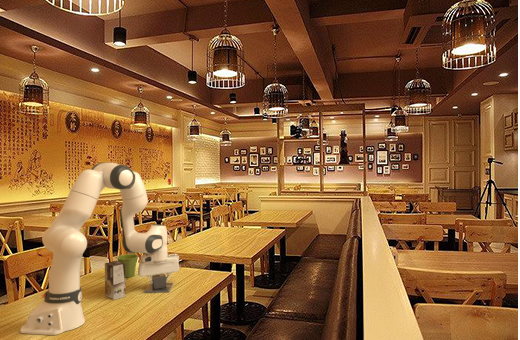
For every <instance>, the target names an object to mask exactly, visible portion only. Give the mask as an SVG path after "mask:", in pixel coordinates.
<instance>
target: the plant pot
mask: <svg viewBox="0 0 520 340" xmlns="http://www.w3.org/2000/svg"><path fill="white" fill-rule="evenodd" d="M138 258H140V257H139V255H138V254H134V253H130V254H129V253H128V254H127V253H126V254H120V255H118V256H117V257H116V259H117V261H119V262H122V263H125V279H127V278H133V277H134V276H135V273H136V268H137V262H138Z"/></svg>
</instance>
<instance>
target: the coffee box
mask: <svg viewBox="0 0 520 340" xmlns="http://www.w3.org/2000/svg"><path fill="white" fill-rule="evenodd" d="M126 281H127V280H126V278H125V263H122V262H119V261H118V260H114V261H109V262H105V263H104V282H105V283H104V287H105V288H104V289H105V291H104V292H105V293H104V294H105V297H107V298H109V299H111V300H113V301H115V300H118V299H123V298H126V296H127V292H126V288H127V287H126V283H127V282H126Z"/></svg>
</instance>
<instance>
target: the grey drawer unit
mask: <svg viewBox="0 0 520 340" xmlns="http://www.w3.org/2000/svg"><path fill="white" fill-rule="evenodd" d="M166 277H167V275H166V274H158V275H151V280H153V281H154V282H153V283H154V284H152V286H153V288H154V289H158V288H164V287H166V283H167V282H166Z"/></svg>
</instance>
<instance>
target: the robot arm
mask: <svg viewBox="0 0 520 340" xmlns="http://www.w3.org/2000/svg"><path fill="white" fill-rule="evenodd" d="M105 188H107V189H113V190H114V189H115V190H119V191H120V196H121V199H122V205H121V206H120V208H119V209H120V210H119V217H120V222H121V232H122V247H123V250H124V251H125V252H127V253H128V254H129V253H130V254H134V253H138V254H142V255H140V261H139V263H138V269H137V270H138V271H137V274H138V276H139V277H141V278H142V277H147V278H148V280H149V284H154V283H153V282H154V281H153V280H152V275H159V274H164V275H166V283H169V278H170V277H171V274H172V273H177V272H179V271H180V264H179V263H180V262H179V261H180V256H179V254H176V253H171V254H170V253H168V252H169V250H168V249H169V248H168V245H167V244H168V240H169V239H168V230H167V229H168V228H167V226H166V225H165V224H155V223H154V224H151V225H150V228H149V230H148V231H147V232H138V231H136V229H135V220H134V215H136V214H139V213H140V212H141V211H144V209H145V208H146V207H147V205H148V201H149V199H148V194H147V191H146V186H145V183H144V181H143V179H142V177H141V175H140V174H139V172H137V171H133V170H132V168H130V167H129V166H127V165H126V164H119V163H115V162H106V161H105V162H99V163H96V164H95V165H93V166H92V167H91V168H90V169H85V170H83V171H81V172H80V174H79V175H78V176H77V178H76V179H75V181H74V183H73V184H72V186H71V189H70V191H69V193H68V195H67V196H66V199H65V202H64V204H63V205H62V207H61V210H60V211H59V213H58V214H57V215H56V217H55V218H54V220H53V221H52V222H51V224H50V225H49V227H48V228H46V230H44V232H43V234H42V236H41V237H42V238H41V240H42V244H43V246H44V247H45V248H46V250H47V251H49V252H52V260H51V266H50V269H49V271H48V289H47V291H45V292H44V294H42V295H41V296H42V297H41V298H42V299H44V300H42V301H41V302H40V304H38V305H37V306H35V308H33V309H32V310H31V311H30V312H29V314H28V317H27V321H26V322H25V323H24V324H23V325H22V326H21V327H20V330H19V331H20V334H28V335H45V336H46V335H47V336H48V335H49V336H56V335H59V334H61V333H64V332H68V331H71V330H75V329H77V328H79V327H81V326H82V325H84V324H85V323H86V319H85V316H84V311H83V307H82V301H83V300H82V299H83V293H82V286H81V265H82V264H81V263H82V259H83V254H84V253H85V251H86V249H87V246H88V240H87V237H86V236H85V235H84V234H83V233H82V232H81V231H80V230H81V228H82V227H83V226H84V224H85V223H86V222H87V221H88V220H89V219H91V216H92V214H93V212H94V211H95V207H96V205H97V202H98V201H99V197H100V195H101V192H102V191H103V190H104V189H105Z"/></svg>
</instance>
